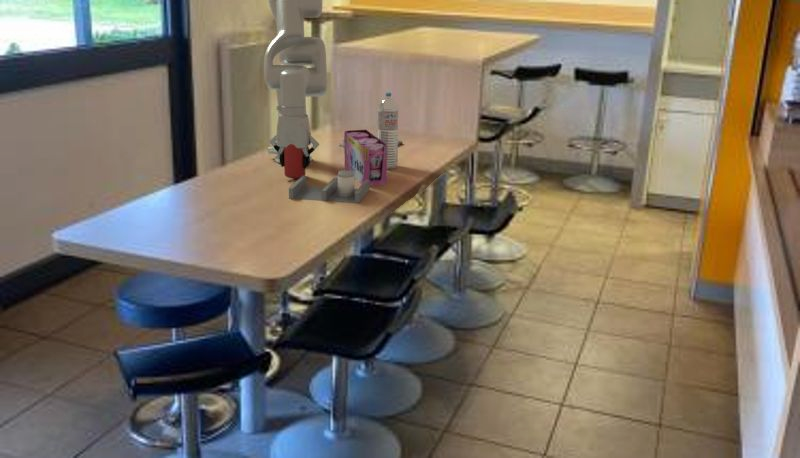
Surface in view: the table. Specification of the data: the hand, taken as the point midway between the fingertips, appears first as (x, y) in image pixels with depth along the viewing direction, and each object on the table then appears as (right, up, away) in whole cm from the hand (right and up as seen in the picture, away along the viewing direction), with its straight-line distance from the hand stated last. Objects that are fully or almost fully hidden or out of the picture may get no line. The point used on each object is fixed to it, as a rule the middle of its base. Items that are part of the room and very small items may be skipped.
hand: (294, 166), depth 255 cm
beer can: (0, -3, +1) cm, 3 cm away
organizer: (+12, -10, -15) cm, 22 cm away
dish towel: (+22, +11, +48) cm, 54 cm away
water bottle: (+29, +1, +19) cm, 35 cm away
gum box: (+22, -4, +5) cm, 23 cm away
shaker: (+17, -10, -16) cm, 25 cm away
